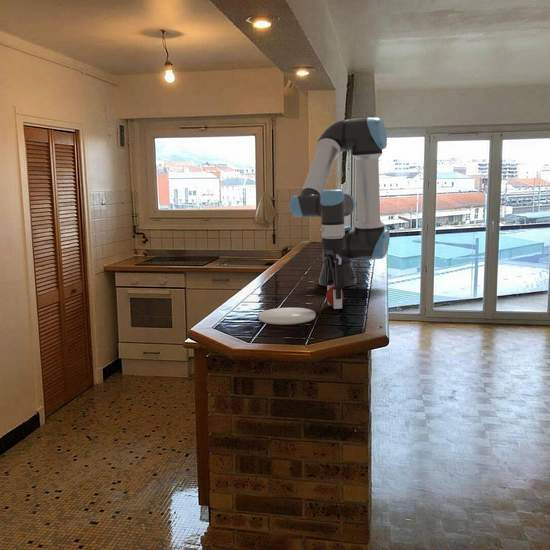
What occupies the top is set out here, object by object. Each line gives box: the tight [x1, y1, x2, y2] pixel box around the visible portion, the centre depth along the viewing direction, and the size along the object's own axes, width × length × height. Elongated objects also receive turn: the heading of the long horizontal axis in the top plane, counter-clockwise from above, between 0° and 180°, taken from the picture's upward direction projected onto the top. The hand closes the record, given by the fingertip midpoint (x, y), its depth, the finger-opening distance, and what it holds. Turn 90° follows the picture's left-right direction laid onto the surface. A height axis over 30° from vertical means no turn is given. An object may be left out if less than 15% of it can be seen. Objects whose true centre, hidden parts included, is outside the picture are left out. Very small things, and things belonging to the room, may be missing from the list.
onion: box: [325, 284, 345, 308], centre depth 198 cm, size 6×6×8 cm
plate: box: [258, 307, 317, 325], centre depth 188 cm, size 18×18×1 cm
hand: (334, 306), depth 198 cm, fingers closed on onion, 6 cm apart
